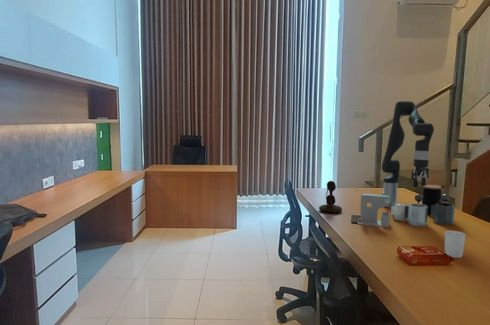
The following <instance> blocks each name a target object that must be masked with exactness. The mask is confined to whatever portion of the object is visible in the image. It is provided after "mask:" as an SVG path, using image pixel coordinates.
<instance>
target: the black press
mask: <svg viewBox="0 0 490 325" xmlns="http://www.w3.org/2000/svg"><path fill="white" fill-rule="evenodd" d="M450 200H451V198H450V195H449V194H447V193H444V194H441V201H442V202H441V203H436V204H435V205H431V215H430V217H432V218H433V219H434V220H433V221H434V223H436V224H438V225H441V226H442V225H443V226H452V225H454V220H455V206H456V204H455V205H454V204H452V203H448V202H449V201H450Z"/></svg>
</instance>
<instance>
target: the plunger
mask: <svg viewBox="0 0 490 325" xmlns="http://www.w3.org/2000/svg"><path fill="white" fill-rule="evenodd" d="M414 200H415V201H416V202H417V203H416V204H417V207H419V204H420V203H422V200H423V194H419V193H417V194H415V195H414Z"/></svg>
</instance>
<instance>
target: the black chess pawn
mask: <svg viewBox="0 0 490 325" xmlns="http://www.w3.org/2000/svg"><path fill="white" fill-rule="evenodd" d="M326 188H327V189H326V195H325V202H326V204H322V205H320V206H318V210H319V211H321V212H322V214H324V213H325V212H326V213H336V214H337V215H338V214H339V213H340V212H343V208H342V207H341V206H340V205H337V204H336V198H335V195H334V193H333V192H334V191H335V190H336V188H337V186H336V183H335V182H334V181H333V180H330V181H328V182H327V183H326ZM328 191H329V192H328ZM328 193H329V194H328Z"/></svg>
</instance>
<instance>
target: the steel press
mask: <svg viewBox="0 0 490 325" xmlns="http://www.w3.org/2000/svg"><path fill="white" fill-rule="evenodd" d="M427 214H428V206H426V205H423V204H422V203H419V207H417V203H410V204H408V206H405V216H404V218H408V220H407V224H409V225H410V226H414V227H426V226H427V225H428V215H427Z"/></svg>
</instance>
